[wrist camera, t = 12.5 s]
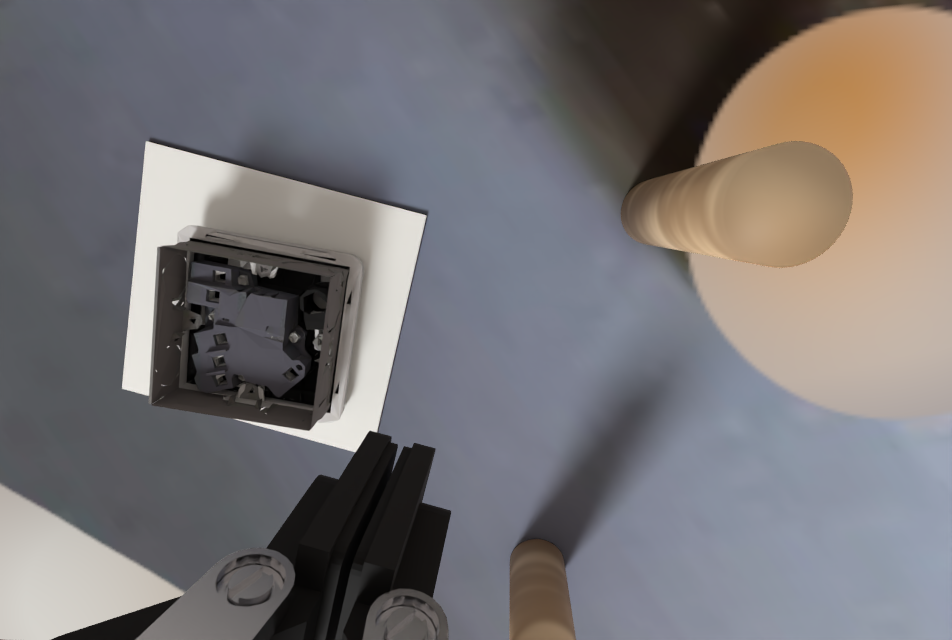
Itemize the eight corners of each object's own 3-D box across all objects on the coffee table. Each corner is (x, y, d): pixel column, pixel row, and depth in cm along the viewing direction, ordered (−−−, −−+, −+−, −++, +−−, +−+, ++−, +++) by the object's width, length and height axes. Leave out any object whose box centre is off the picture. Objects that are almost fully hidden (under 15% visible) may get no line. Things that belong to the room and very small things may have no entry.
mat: (148, 141, 26) (145, 141, 25) (427, 215, 25) (426, 215, 25) (124, 387, 29) (121, 388, 28) (372, 455, 28) (371, 456, 28)
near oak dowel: (631, 172, 24) (748, 128, 12) (695, 187, 24) (872, 157, 12) (613, 236, 25) (706, 252, 13) (674, 251, 25) (825, 280, 13)
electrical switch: (371, 255, 26) (211, 223, 27) (325, 260, 21) (131, 220, 22) (348, 421, 28) (200, 383, 29) (301, 462, 23) (123, 415, 24)
